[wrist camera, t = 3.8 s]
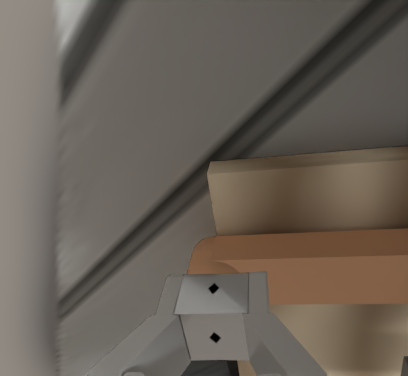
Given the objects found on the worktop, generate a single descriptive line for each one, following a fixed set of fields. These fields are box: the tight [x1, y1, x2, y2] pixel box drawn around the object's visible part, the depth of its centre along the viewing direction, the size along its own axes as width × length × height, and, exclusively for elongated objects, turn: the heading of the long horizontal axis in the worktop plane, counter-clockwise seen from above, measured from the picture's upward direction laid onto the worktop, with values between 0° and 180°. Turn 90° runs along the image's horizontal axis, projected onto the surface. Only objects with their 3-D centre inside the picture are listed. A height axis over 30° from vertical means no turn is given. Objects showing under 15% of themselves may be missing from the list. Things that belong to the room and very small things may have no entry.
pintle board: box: [207, 146, 408, 376], centre depth 21 cm, size 18×20×6 cm
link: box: [187, 228, 408, 305], centre depth 19 cm, size 15×4×2 cm, turn 99°
